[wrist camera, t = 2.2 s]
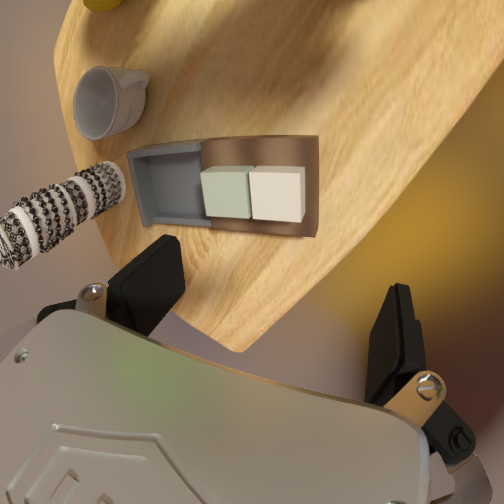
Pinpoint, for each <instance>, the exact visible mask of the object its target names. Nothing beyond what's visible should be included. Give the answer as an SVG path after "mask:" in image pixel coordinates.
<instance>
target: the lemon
mask: <svg viewBox="0 0 504 504" xmlns="http://www.w3.org/2000/svg"><path fill="white" fill-rule="evenodd" d="M83 2H84V5H85V6H86V7H87V8H88V9H90V10H92V11H96V12H106V11H110V10H112V9H114V8H116V7H117V6H118V5H119V4H120V3H121V2H122V0H83Z"/></svg>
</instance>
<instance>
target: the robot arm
mask: <svg viewBox="0 0 504 504" xmlns="http://www.w3.org/2000/svg"><path fill="white" fill-rule="evenodd" d="M108 284H109V287H108V288H106V286H105V285H103V284H101V283H93V284H89V285H87V286H85V287H84V288H82V289H81V291H80V292H79V294H78V296H77V299H76V300H72V301H68V302H63V303H58V304H54V305H50V306H47V307H45V308H43V309H42V311H40V313H39V314H38V316H37V319H35V317H34V318H32V319H30V320H28V321H26V322H24V323H21V324H19V325H17V326H15V327H13V328H11V329H9V330H7V331H6V332H5V333H4V334H3V335H2V337H1V340H0V345H1V358H2V362H1V364H0V504H426V500H427V494H428V486H429V477H430V480H431V482H432V483H431V484H430V487H431V490H432V499H431V502H430V503H429V504H489V503H490V502H491V499H492V495H493V491H492V486H491V484H490V481H489V479H488V476H487V474H486V471H485V469H484V466H483V464H482V462H481V459H480V457H479V455H476V456H475V454H474V452H473V451H474V449H475V444H476V438H475V435H474V433H473V431H472V430H471V429H470V427H469V426H468V425H467V424H466V423H465V422H464V421H463V420H462V419H461V418H460V417H459V416H458V415H457V414H456V412H455V411H454V410H453V409H452V408H451V407H450V406H449V405H448V404H447V403H446V402H445V401H444V400H443V399H444V397H445V394H446V387H445V384H444V382H443V380H442V379H441V378H440V377H439V375H437V374H435V373H434V372H430V371H427V369H426V358H425V350H424V342H423V335H422V329H421V323H420V321H419V320H416V319H415V315H414V309H413V304H412V298H411V293H410V288H409V286H408V285H404V284H399V283H396V284H395V285H394V286H390V288H389V290H388V293H387V295H386V298H385V300H384V302H383V305H382V307H381V310H380V312H379V314H378V317H377V319H376V321H375V324H374V326H373V328H372V330H371V333H370V337H369V354H368V368H367V380H366V390H365V400H364V402H362V401H358V400H353V399H349V398H344V397H339V396H334V395H330V394H325V393H321V392H316V391H312V390H307V389H304V388H299V387H295V386H291V385H287V384H284V383H280V382H276V381H272V380H268V379H265V378H262V377H258V376H255V375H252V374H248V373H245V372H242V371H238V370H235V369H232V368H229V367H226V366H223V365H220V364H217V363H214V362H211V361H208V360H206V359H203V358H200V357H197V356H195V355H192V354H189V353H187V352H183V351H181V350H179V349H176V348H174V347H171V346H168V345H166V344H163V343H161V342H158V341H156V340H154V339H151V338H149V337H148V336H149V335H150V333H151V332H152V331H153V329H154V328H155V327H156V326H157V325H158V324H159V322H160V321H161V320H162V319H163V317H164V316H165V315H166V314H167V313H168V311H169V310H170V309H171V308H172V307H173V305H174V304H175V303H176V302H177V301H178V299H179V298H180V297H181V296H182V295H183V293H184V291H185V288H186V286H185V278H184V271H183V264H182V256H181V248H180V242H179V240H177V238H176V237H175V236H171V235H166V234H164V235H162V236H161V237H160V238H159V239H157V240H156V241H155V242H154V243H152V244H151V245H150V246H149V247H147V248H146V249H145V250H144V251H143V252H141V253H140V254H139V255H138V256H137V257H135V258H134V259H133V260H132V261H131V262H130V263H128V264H127V265H126V266H125V267H124V268H122V269H121V270H120V271H119V272H118V273H117V274H116V275H114V276H113V277H112V278H111V279H110V280H109V281H108ZM389 502H390V503H389Z"/></svg>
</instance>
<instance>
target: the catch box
mask: <svg viewBox="0 0 504 504" xmlns="http://www.w3.org/2000/svg"><path fill="white" fill-rule="evenodd" d="M208 139H210V138H208ZM204 140H207V139H197V140H187V141H178V142H170V143H163V144H156V145H149V146H143V147H140V148H138V149H135V150H132V151H129V152H127V157H128V162H129V167H130V172H131V177H132V182H133V186H134V191H135V195H136V200H137V204H138V208H139V212H140V216H141V220H142V224H143V227H148V226H150V225H151V224H152V223H166V224H181V225H195V226H209V227H212V223H211V217H210V216H207V215H206V209H205V202H204V196H203V189H202V183H201V176H200V173H201V172H202V171H204V169H203V161H202V154H201V146H200V142H201V141H204Z"/></svg>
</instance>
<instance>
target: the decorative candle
mask: <svg viewBox="0 0 504 504" xmlns="http://www.w3.org/2000/svg"><path fill="white" fill-rule="evenodd" d="M125 194H126V182H125V177H124V175H123V173H122V171H121V169H120V168H119V167H118V166H117V165H116V164H115V163H114V162H111V161H109V160H108V161H103V162H101V163H100V164H98V163H96V165H94V167H92V166H90V167H89V169H86V170H84V169H83V170H82V171H81V172H79V173H77V172H76V173H75V174H74V176H72V177H70V178H68V179H67V180H66V181H64V182H62V183H60V184H53V185H50V186H49V189H48V190H46V189H45V188H43V189H40V190H39V192H38V193H37V192H35V193H32V195H31V197H30V201H29V199H28V198H26V197H25V198H24V197H22V198H21V202H20V203H19V202H14V203H13V207H12V209H11V210H9V212H8V213H7V214H5V215H3V216H2V217H0V263H1V265H2V266H3V267H4V268H6V269H14V270H15V271H18V270H19V267H20V266H21V265H22V264H24V263H25V262H26V261H27V260H28V259H32V258H34V257H35V256H36V255H37V254H38V253H39V252H41V253H43V252H45V253H47V252H49V250H50V249H52V247H55V245H57V244H58V243H59V239H60V240H64V238H65V237H67V236H68V235H70V234H71V233H73V232H74V230H75V229H76V226H77V225H79V224H80V223H81V222H83V223H84V222H86V221H87V220H89V219H94V217H97V216H98V215H100V213H103V212H104V211H107V210H108V209H110V208H112V207H113V206H115V205H117V204H118V203H119V202H121V201H122V200H123V199H124V196H125ZM18 205H19V206H18ZM61 235H62V236H61ZM54 240H55V241H54ZM53 241H54V242H53ZM45 246H46V248H44V247H45Z"/></svg>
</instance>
